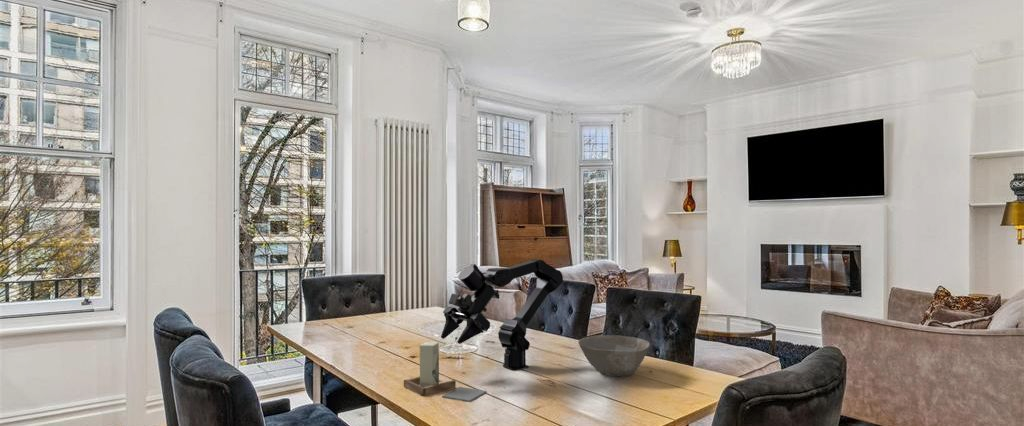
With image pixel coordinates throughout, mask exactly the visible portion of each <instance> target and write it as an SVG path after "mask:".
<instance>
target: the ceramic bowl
mask: <svg viewBox="0 0 1024 426" xmlns="http://www.w3.org/2000/svg"><path fill="white" fill-rule="evenodd" d="M577 342H578V345H579V348H580V350H581V351H582V353H583V354H584V356H585V359H586V360H587V361H588V363H589V364H590V365H591V367H593V368H594V370H595V371H597V372H598V373H600V374H602V375H606V376H613V377H629V376H631V375H633V374H635V372H636V371H637V370H638V369H639V367H640V365H641V364H642V362H643V361H644V359H645V357H646V355H647V354H648V350H649V349H650V345H651V344H650V343H651V342H649V341H648V340H646V339H643V338H638V337H634V336H626V335H619V334H618V335H617V334H616V335H615V334H608V335H607V334H603V335H601V334H597V335H596V334H595V335H591V336H586V337H582V338H581V339H578V341H577Z"/></svg>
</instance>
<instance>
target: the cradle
mask: <svg viewBox="0 0 1024 426" xmlns="http://www.w3.org/2000/svg"><path fill="white" fill-rule="evenodd" d="M456 383H457V382H456V380H449V381H445V382H439V384H436V385H431V386H427V387H422V386H420V376H417V377H413V378H412V377H411V378H408V379H404V380H403V388H404V389H407V390H409V391H411V392H414V393H415V394H417V395H419V396H422V397H425V396H428V395H432V394H437V393H441V392H445V391H449V390H452V389H453V390H454V389H456V386H457V385H456Z"/></svg>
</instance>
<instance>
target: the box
mask: <svg viewBox="0 0 1024 426" xmlns="http://www.w3.org/2000/svg"><path fill="white" fill-rule="evenodd" d="M439 345H440V343H439V342H436V341H433V342H432V341H425V342H423V343H422V344H420V345H419V377H420V384H419V385H420V386H422V387H427V386H431V385H436V384H440V362H439V361H440V357H439V356H440V355H439V353H440V351H439V347H440V346H439Z"/></svg>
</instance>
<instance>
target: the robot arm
mask: <svg viewBox="0 0 1024 426" xmlns="http://www.w3.org/2000/svg"><path fill="white" fill-rule="evenodd" d="M562 273H563V272H562V271H560V270H558V269H557V268H556V267H553V266H552V265H550V264H548V263H546V261H545V260H543V259H540V258H539V259H538V258H537V259H536V258H532V259H531V260H528V261H524V262H521V263H517V264H514V265H511V266H507V267H491V268H488V269H486V270H485V272H482V271H481V269H480V268H479V267H478V265H477V264H475V263H471V264H470V265H469V266H467V267H465V268H464V269H463V270H462V269H461V270H460V272H459V274H458V277H457V278H458V280H460V282H461V283H462V284H463V285H464V286H465V288H466V289H468V290H469V291H471V292H473V291H474V292H473V293H472V294H469V293H463V294H462V295H461V294H458V293H451V295H450V298H449V301H448V304H449V305H453V306H456V307H453V306H446V307H445V308H444V309H443V311H442V313H443V317H445V323H444V326H443V329H442V332H441V335H440V338H441V339H442V340H443V339H446V338H447V337H449V335H451V334H452V333H454V332H455V331H456V330H457V329H458V328H459V327H460V325H461V324H462V323H463V322H464V321H465V322H466V325H465V328H464V330H462V332H461V334H460V336H459V337H458V340H457V343H458V345H461V344H463V343H465V342H466V341H467V340H470V339H472V338H474V337H476V336H477V335H480V334H483V333H484V332H487V331H488V330H489V329H490V328H491V322H490V321H489V319H488V318H486V316H485V315H484V314H483V313H486V312H487V311H488V309H487V308H486V307H487V306H488V305H489V303H490V301H491V300H492V299H497V300H499V299H500V294H499V293H500V292H499V290H498V289H495V288H494V287H496V288H497V287H498V288H503V287H505V286H507V285H509V284H510V283H511V282H512V281H513V280H515V279H517V278H520V277H524V276H527V275H530V274H534V276H535V277H536V286H535V288H534V290H533V291H532V293H531V294H530V295H529V297H528V298H527V300H526V301H525V302H524V304H522V307H521V308H520V309H519V311H518V313H516V315H515V317H514V318H512V319H510V318H506V319H505V320H504V321H503V323H502V324H501V326H499V327H498V328H499V331H498V333H497V335H498V340H499V342H500V344H501V347H502V348H504V354H503V360H504V361H503V364H502V367H504V368H506V369H509V370H512V371H516V370H517V371H518V370H521V369H526V368H529V365H528V364H526V361H527V359H526V354H527V353H526V351H528V350H530V344H531V343H530V342H529V340H528V339H527V338H526V335H527V327H528V324H529V323H530V322H531V320H532V319H533V317H534V316H535V315H536V313H537V312H538V310H539V309H540V307H541V305H542V304H543V303H544V301H545V300H546V298H547V297H548V295H550V294H551V293H554V292H556V290H557V289H559V287H560V286H562V284H563V282H564V277H563V274H562Z"/></svg>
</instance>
